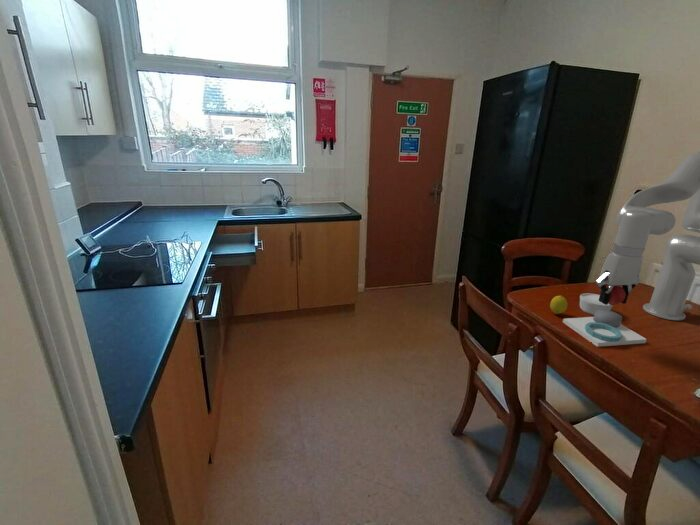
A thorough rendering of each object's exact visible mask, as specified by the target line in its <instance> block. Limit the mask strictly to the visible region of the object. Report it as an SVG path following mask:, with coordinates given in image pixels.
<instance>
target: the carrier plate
mask: <svg viewBox="0 0 700 525" xmlns="http://www.w3.org/2000/svg"><path fill="white" fill-rule="evenodd" d="M622 320H623V316H622V315H621V314H619V313H617V312H615V311H612V310H610V311H609V310H603V309H599V310H596V311H595V314H594V315H593V316H584V317H571V318H570V317H567V318H566V317H565V318H563V319H562V323H563V324H564V325H566V326H568V328H570V329H571V330H573V331H575V332H576V333H577V334H579V335H580V336H581V337H583V338H584V339H585V340H587V341H588V342H590V343H591V342H592V343H591V344H593V345H594V346H596V347H599V348H600V347H612V346H623V345H624V346H625V345H637V344H638V345H639V344H646V343H647V341H648V339H647V338H645V337H644V336H642V335H641V334H639V333H637V332H636V331H633V330H631V329H630V328H628V327H627V326H625V325H623V324H622Z"/></svg>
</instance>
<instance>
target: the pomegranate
mask: <svg viewBox="0 0 700 525" xmlns="http://www.w3.org/2000/svg"><path fill="white" fill-rule="evenodd" d="M610 294H611V296H610V299H609V304H610V305H613V306H615V305H619V304H622V303H621V302H622V301H624V299H625V296H626V294H625V291H624V290H623V288H622V287H621V285H617V286H614V287H613V288H612V290H611V291H610Z"/></svg>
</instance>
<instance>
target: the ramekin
mask: <svg viewBox="0 0 700 525" xmlns="http://www.w3.org/2000/svg"><path fill="white" fill-rule="evenodd" d="M599 297H600V294H596V293H589V292H588V293H587V292H586V293H581V294H580V295H579V307H580V309H581V310H582V311H583V312H584V313H587V314H589V315H592V316H594V314H595V311H596V310H599V309H603V310H609V311H612V308H613V307H614V305H610V304H609V303H608V304H607V305H605V304H603V303H602V302H600V301H599Z"/></svg>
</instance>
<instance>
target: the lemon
mask: <svg viewBox="0 0 700 525" xmlns="http://www.w3.org/2000/svg"><path fill="white" fill-rule="evenodd" d="M549 308H550V310H551V311H552V312H553V313H554V314H555V315H559V314H563V313H564V312H566V310H567V308H568V301H567V298H565V297H564V296H562V295H556V296H554V297H553V298H552V299H551V301H550V304H549Z"/></svg>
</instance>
